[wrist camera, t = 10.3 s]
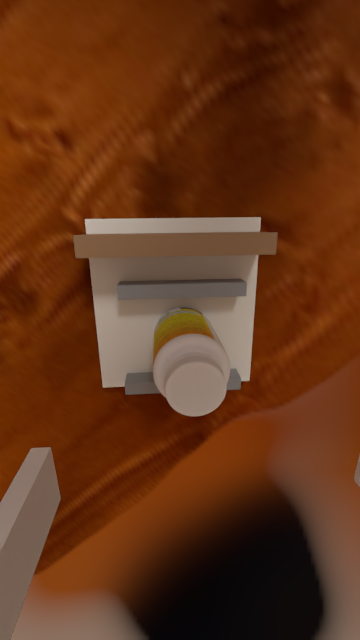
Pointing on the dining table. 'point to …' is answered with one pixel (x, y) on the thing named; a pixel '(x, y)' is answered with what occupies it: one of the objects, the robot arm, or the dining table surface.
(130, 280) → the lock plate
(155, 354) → the supplement bottle
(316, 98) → the dining table surface
